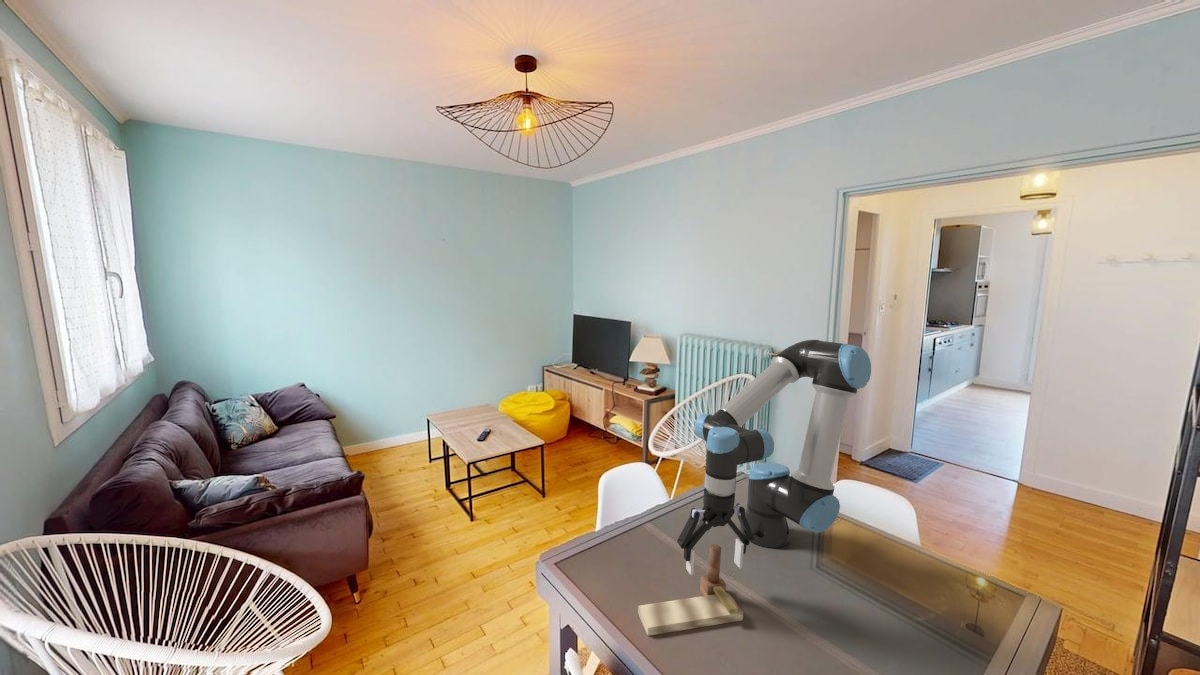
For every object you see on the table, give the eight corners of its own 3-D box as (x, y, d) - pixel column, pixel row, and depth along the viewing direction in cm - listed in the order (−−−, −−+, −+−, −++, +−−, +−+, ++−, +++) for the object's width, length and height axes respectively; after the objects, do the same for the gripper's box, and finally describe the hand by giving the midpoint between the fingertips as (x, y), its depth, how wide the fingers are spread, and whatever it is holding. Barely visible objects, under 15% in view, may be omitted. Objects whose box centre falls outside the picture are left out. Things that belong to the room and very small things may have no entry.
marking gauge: (717, 587, 116) (720, 541, 115) (741, 622, 105) (745, 571, 103) (700, 590, 115) (702, 544, 114) (722, 625, 104) (726, 574, 102)
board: (727, 599, 112) (728, 592, 112) (742, 620, 106) (743, 612, 105) (637, 613, 107) (638, 605, 106) (647, 635, 100) (647, 627, 100)
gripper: (755, 479, 117) (749, 553, 120) (667, 486, 111) (662, 564, 114) (772, 492, 110) (765, 571, 112) (679, 501, 104) (674, 584, 107)
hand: (714, 568), depth 113 cm, fingers open, 13 cm apart
